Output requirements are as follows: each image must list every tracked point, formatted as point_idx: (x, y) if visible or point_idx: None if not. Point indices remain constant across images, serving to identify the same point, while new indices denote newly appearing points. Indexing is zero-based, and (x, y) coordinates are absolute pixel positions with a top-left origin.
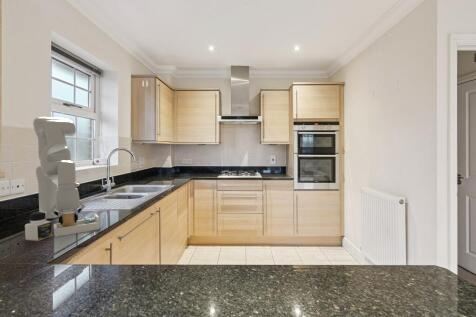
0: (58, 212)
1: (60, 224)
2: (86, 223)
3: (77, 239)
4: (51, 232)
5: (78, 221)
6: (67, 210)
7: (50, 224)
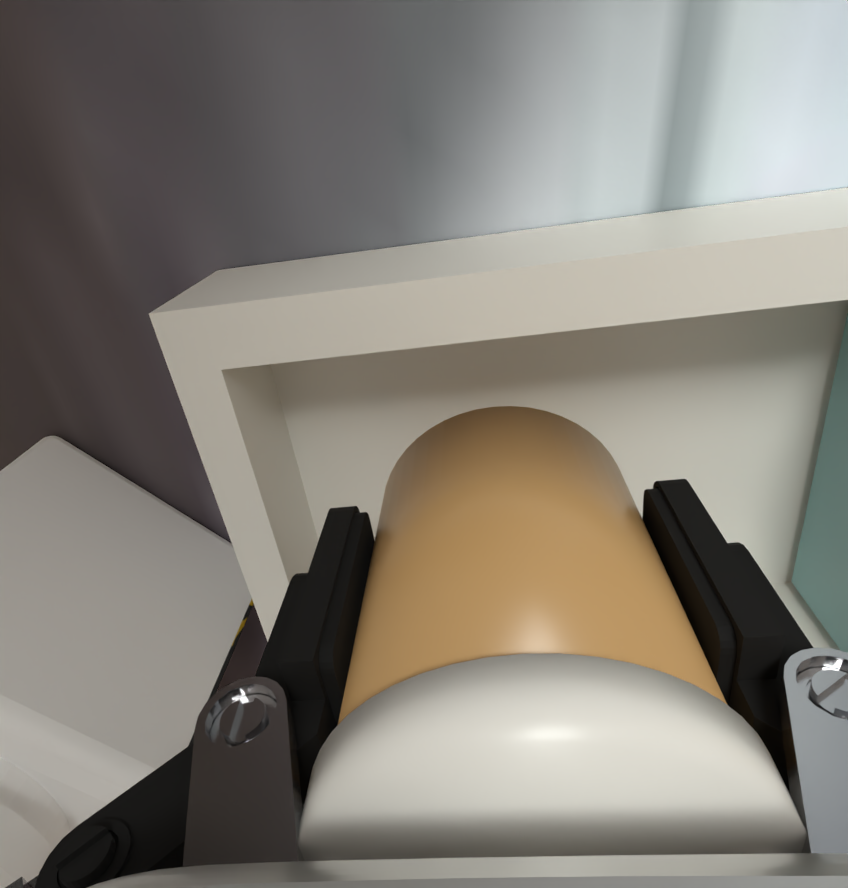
0: (202, 828)
1: (321, 352)
2: (841, 632)
3: None
4: (251, 606)
5: (756, 304)
6: (525, 854)
7: (190, 744)
